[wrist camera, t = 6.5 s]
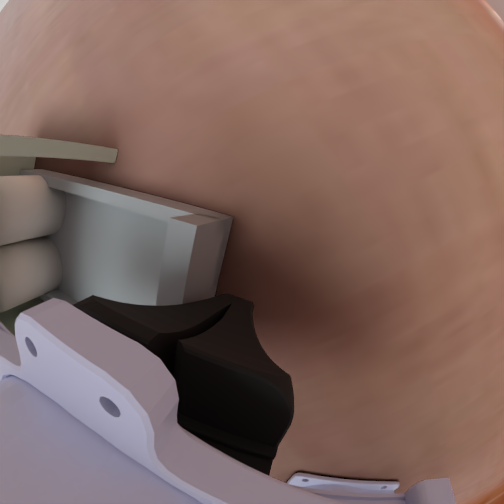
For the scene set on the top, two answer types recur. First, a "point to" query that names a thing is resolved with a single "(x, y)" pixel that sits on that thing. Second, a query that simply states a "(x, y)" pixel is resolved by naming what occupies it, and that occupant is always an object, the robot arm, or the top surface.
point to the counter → (23, 157)
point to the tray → (104, 243)
